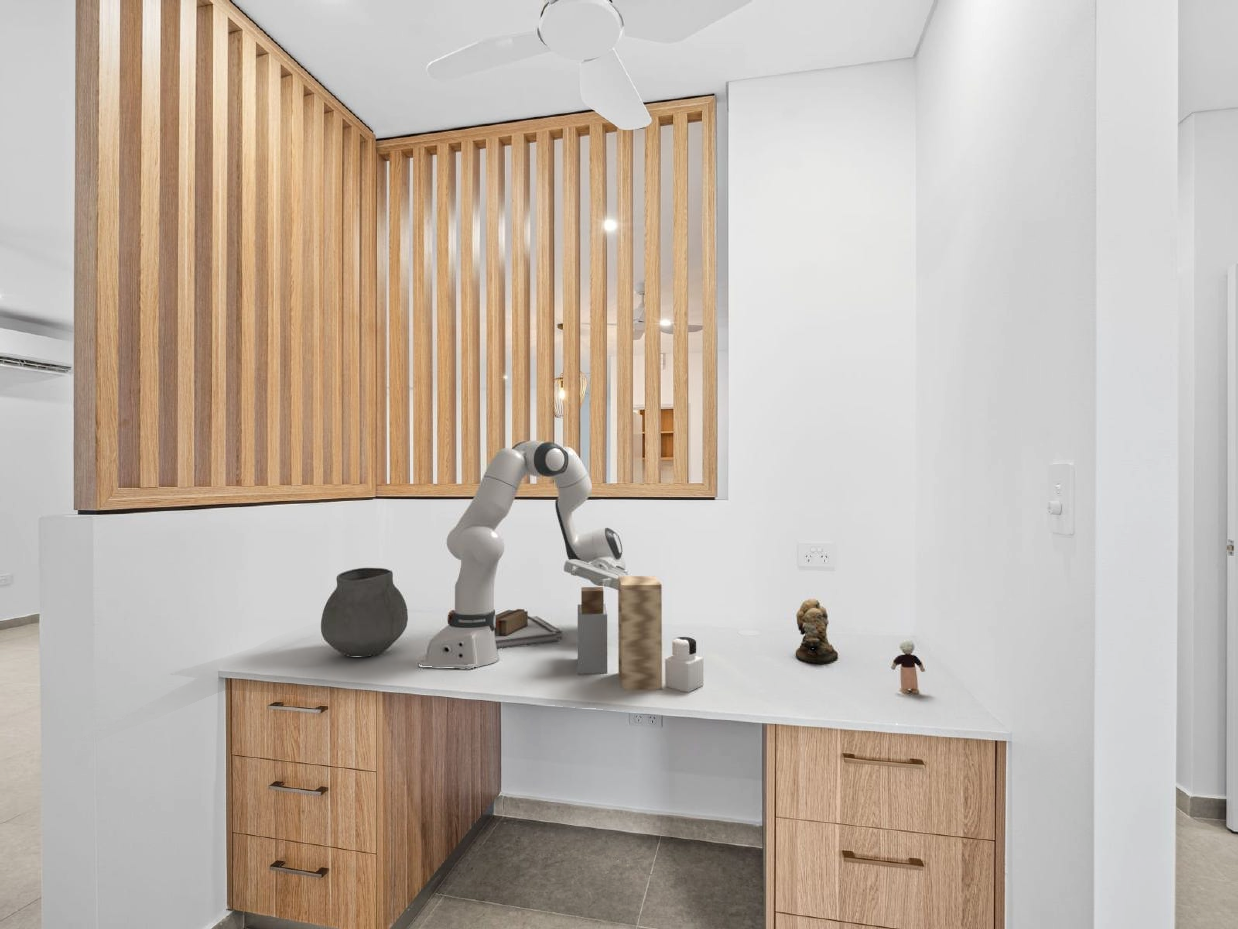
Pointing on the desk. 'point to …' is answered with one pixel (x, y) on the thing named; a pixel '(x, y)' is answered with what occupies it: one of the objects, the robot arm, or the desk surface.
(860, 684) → the desk surface
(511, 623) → the grey tray
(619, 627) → the tall wooden pillar
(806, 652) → the brown lumpy piece
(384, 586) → the ceramic pot
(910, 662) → the grandmother figurine
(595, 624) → the plinth
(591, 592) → the brown wooden bar
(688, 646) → the medicine bottle
